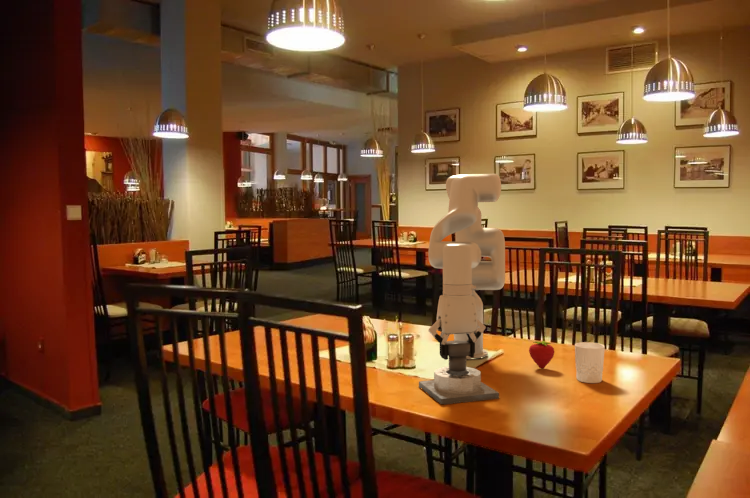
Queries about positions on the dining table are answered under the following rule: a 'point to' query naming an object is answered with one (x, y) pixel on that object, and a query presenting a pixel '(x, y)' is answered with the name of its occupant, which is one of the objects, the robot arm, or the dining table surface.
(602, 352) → the white cup
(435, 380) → the square base disc pedestal
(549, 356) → the strawberry
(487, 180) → the robot arm
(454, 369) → the cap
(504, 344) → the dining table surface
